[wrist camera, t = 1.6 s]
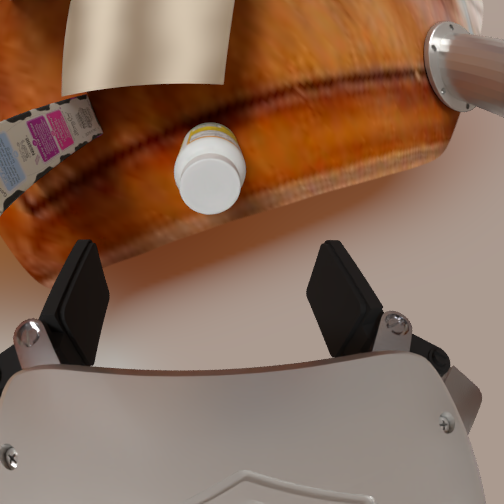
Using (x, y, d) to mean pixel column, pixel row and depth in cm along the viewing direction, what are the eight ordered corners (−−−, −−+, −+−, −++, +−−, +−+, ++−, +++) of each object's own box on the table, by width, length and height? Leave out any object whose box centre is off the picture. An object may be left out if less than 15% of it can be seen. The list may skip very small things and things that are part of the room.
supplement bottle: (208, 110, 22) (207, 129, 15) (248, 146, 25) (269, 183, 17) (170, 152, 24) (152, 193, 16) (211, 184, 27) (214, 236, 19)
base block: (237, -34, 13) (244, -55, 9) (220, 83, 21) (223, 84, 17) (100, -24, 11) (80, -39, 7) (85, 90, 18) (61, 96, 14)
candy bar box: (87, 90, 18) (-36, 134, 5) (105, 132, 21) (4, 217, 9) (15, 145, 19) (-84, 225, 6) (32, 181, 22) (-53, 277, 9)
